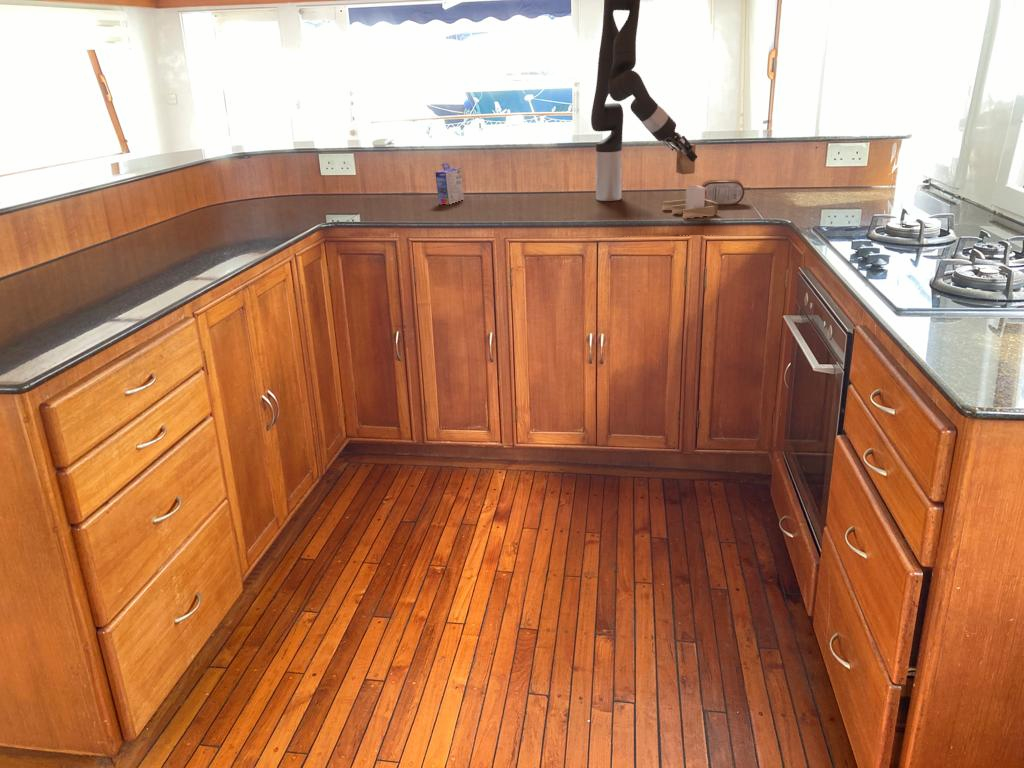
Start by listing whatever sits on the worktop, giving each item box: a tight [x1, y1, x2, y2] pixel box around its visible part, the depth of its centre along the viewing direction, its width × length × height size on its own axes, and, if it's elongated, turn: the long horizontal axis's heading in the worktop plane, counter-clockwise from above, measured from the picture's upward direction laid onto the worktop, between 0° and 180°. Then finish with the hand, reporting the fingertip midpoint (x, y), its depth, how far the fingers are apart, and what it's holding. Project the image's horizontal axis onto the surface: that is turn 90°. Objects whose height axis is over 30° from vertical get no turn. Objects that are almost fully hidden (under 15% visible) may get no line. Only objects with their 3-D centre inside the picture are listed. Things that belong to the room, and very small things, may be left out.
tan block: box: [675, 143, 697, 175], centre depth 260 cm, size 5×4×9 cm
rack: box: [661, 199, 719, 220], centre depth 263 cm, size 15×12×4 cm
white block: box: [685, 185, 705, 209], centre depth 259 cm, size 5×4×9 cm
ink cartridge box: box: [435, 162, 465, 206], centre depth 300 cm, size 10×6×14 cm, turn 148°
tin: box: [701, 179, 745, 206], centre depth 273 cm, size 15×3×8 cm, turn 84°
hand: (690, 158), depth 261 cm, fingers closed on tan block, 5 cm apart
